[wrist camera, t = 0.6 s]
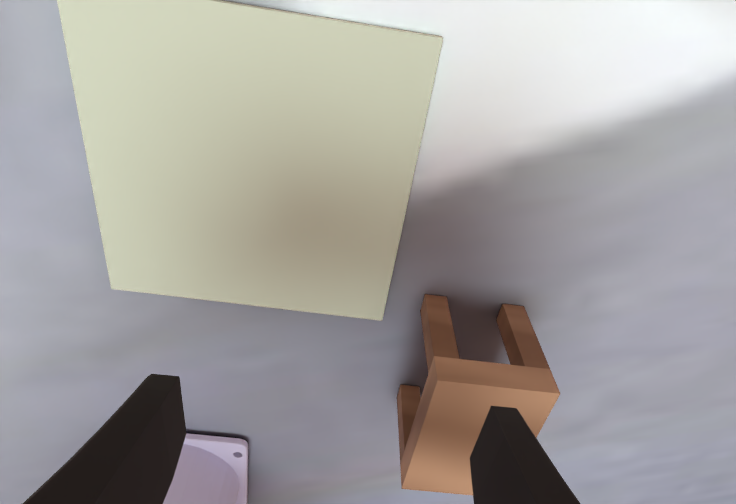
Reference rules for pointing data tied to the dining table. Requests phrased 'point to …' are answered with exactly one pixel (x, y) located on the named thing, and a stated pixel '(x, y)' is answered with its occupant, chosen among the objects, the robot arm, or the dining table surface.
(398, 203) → the mat
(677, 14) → the dining table surface
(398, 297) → the dining table surface
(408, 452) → the stool
